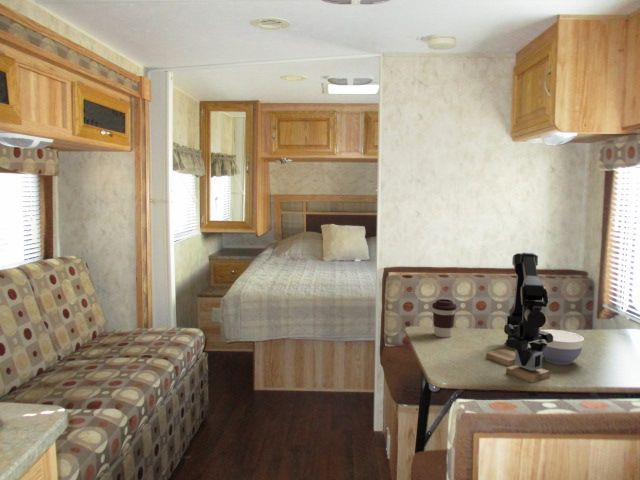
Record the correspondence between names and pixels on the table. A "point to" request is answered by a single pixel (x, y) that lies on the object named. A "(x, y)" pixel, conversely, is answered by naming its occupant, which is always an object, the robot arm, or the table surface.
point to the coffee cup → (443, 317)
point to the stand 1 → (502, 356)
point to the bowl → (563, 347)
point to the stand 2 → (527, 373)
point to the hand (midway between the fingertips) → (528, 364)
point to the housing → (531, 360)
